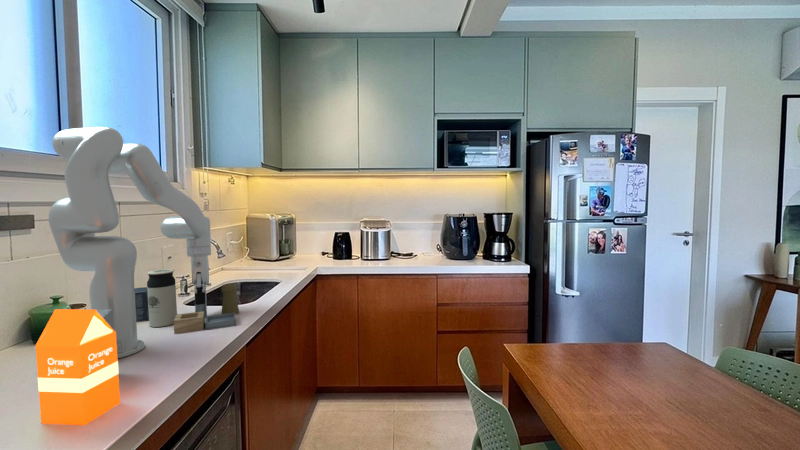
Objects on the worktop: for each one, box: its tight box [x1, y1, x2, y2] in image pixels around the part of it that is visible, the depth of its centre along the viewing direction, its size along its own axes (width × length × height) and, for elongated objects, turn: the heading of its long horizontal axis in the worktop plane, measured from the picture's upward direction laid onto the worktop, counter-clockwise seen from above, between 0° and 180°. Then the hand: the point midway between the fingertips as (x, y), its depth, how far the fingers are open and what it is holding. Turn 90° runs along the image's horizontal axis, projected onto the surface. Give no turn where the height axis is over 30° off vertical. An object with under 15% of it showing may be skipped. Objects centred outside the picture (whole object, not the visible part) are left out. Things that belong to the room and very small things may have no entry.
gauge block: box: [173, 311, 206, 335], centre depth 119 cm, size 8×8×4 cm
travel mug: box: [146, 268, 178, 328], centre depth 124 cm, size 8×8×18 cm
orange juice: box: [34, 308, 121, 426], centre depth 70 cm, size 8×9×20 cm
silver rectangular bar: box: [193, 281, 208, 317], centre depth 130 cm, size 4×4×14 cm
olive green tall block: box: [220, 283, 240, 315], centre depth 134 cm, size 6×6×11 cm
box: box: [134, 286, 149, 323], centre depth 130 cm, size 8×6×11 cm
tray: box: [204, 313, 237, 331], centre depth 123 cm, size 9×9×2 cm
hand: (200, 302), depth 130 cm, fingers closed on silver rectangular bar, 3 cm apart
